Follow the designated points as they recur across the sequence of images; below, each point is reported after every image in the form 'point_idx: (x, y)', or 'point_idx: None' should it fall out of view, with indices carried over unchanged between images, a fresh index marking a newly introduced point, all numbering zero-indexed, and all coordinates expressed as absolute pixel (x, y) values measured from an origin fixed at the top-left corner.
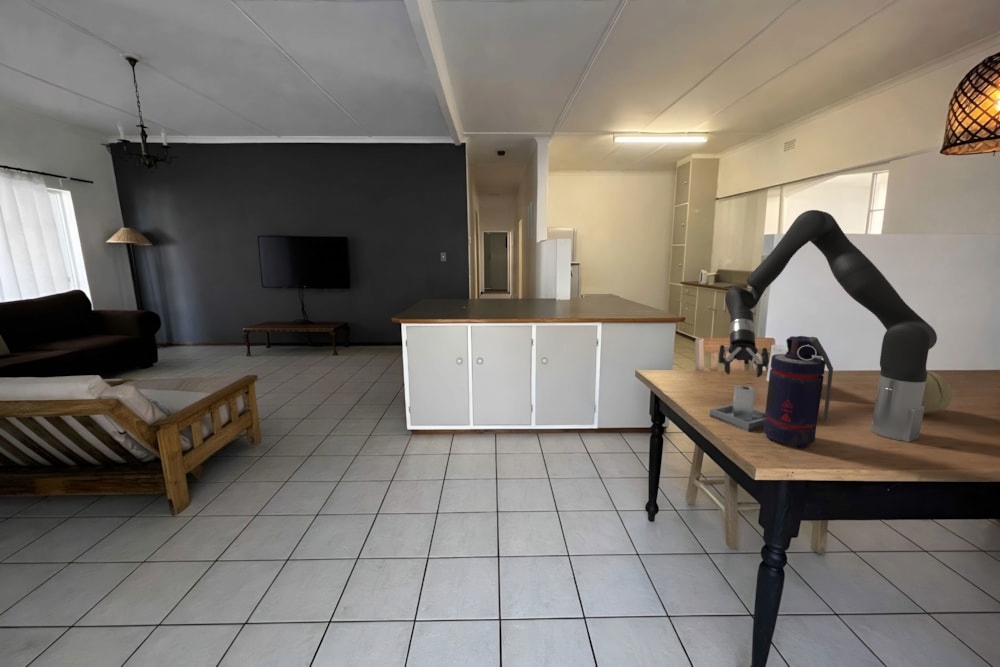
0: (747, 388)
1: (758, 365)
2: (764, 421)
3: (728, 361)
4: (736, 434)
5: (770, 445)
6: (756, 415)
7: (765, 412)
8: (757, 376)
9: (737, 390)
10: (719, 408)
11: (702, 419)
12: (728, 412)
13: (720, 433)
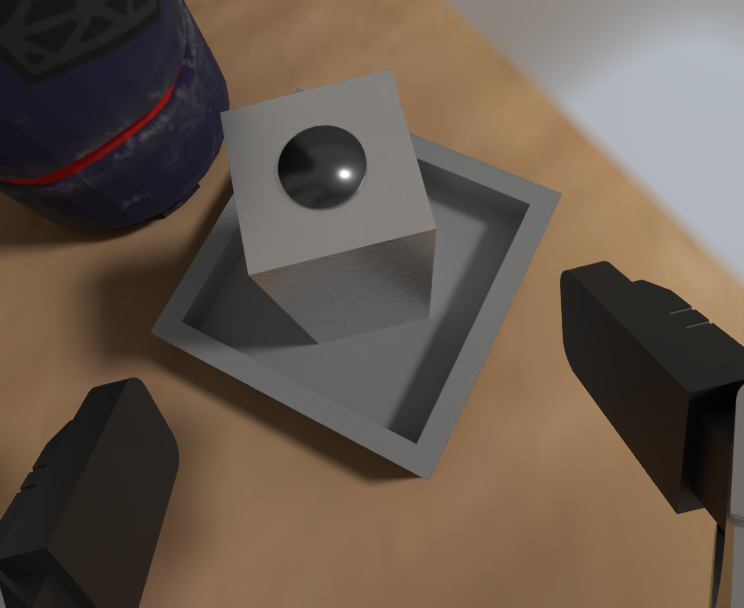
0: (292, 143)
1: (36, 525)
2: (205, 60)
3: (738, 392)
4: (356, 47)
5: (204, 19)
6: (277, 370)
7: (177, 4)
8: (162, 425)
9: (380, 78)
10: (511, 253)
11: (569, 141)
12: (453, 325)
13: (428, 10)
